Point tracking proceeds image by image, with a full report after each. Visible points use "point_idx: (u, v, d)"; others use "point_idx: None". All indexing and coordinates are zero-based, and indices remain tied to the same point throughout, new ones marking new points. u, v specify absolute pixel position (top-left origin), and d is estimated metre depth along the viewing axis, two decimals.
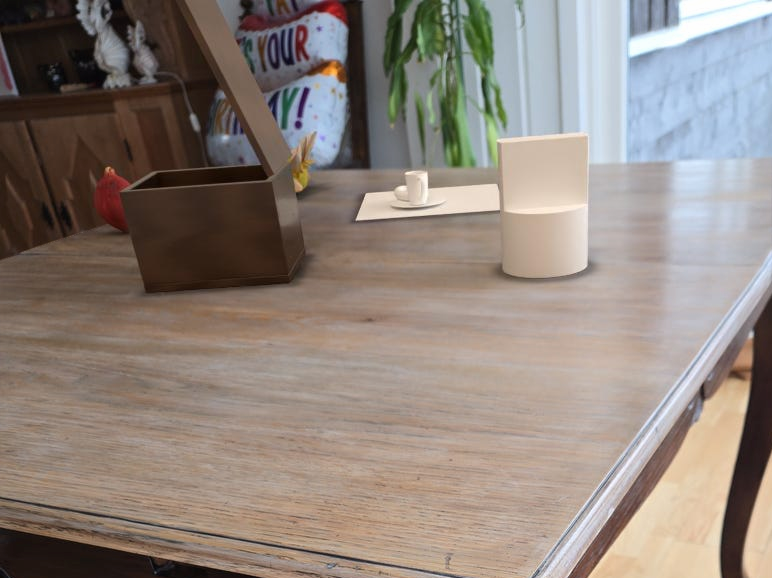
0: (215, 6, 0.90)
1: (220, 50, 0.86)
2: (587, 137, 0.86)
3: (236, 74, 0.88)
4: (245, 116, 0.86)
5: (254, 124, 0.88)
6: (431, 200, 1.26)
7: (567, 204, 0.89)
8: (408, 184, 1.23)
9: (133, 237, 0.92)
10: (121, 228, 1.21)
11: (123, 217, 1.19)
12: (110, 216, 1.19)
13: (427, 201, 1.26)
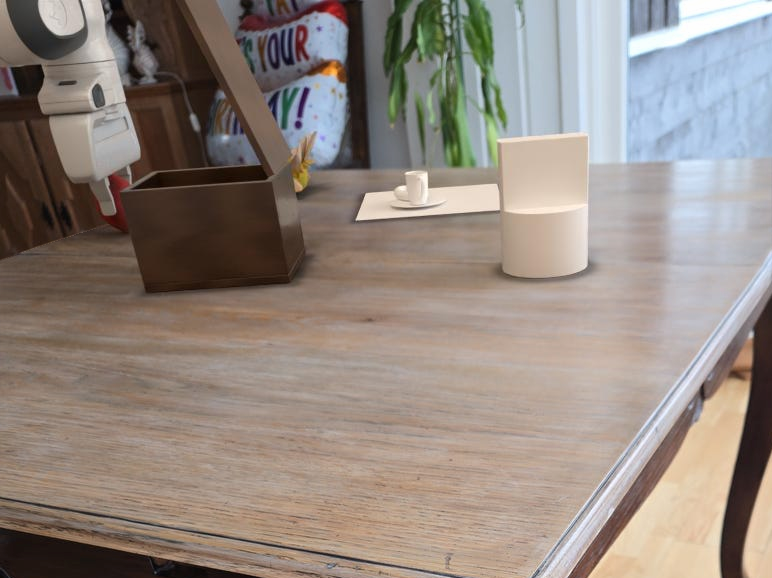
0: (215, 6, 0.90)
1: (220, 50, 0.86)
2: (587, 137, 0.86)
3: (236, 74, 0.88)
4: (245, 116, 0.86)
5: (254, 124, 0.88)
6: (431, 200, 1.26)
7: (567, 204, 0.89)
8: (408, 184, 1.23)
9: (133, 237, 0.92)
10: (121, 228, 1.21)
11: (123, 217, 1.19)
12: (110, 216, 1.19)
13: (427, 201, 1.26)
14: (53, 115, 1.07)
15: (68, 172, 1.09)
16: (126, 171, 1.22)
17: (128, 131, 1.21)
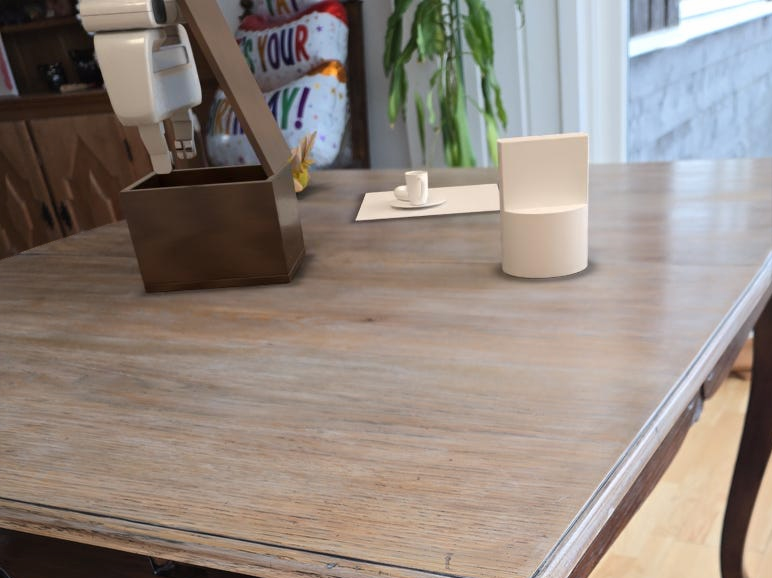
0: (215, 6, 0.90)
1: (220, 50, 0.86)
2: (587, 137, 0.86)
3: (236, 74, 0.88)
4: (245, 116, 0.86)
5: (254, 124, 0.88)
6: (431, 200, 1.26)
7: (567, 204, 0.89)
8: (408, 184, 1.23)
9: (133, 237, 0.92)
10: None
11: None
12: None
13: (427, 201, 1.26)
14: (99, 33, 0.81)
15: (118, 111, 0.82)
16: (188, 116, 0.96)
17: (188, 65, 0.94)
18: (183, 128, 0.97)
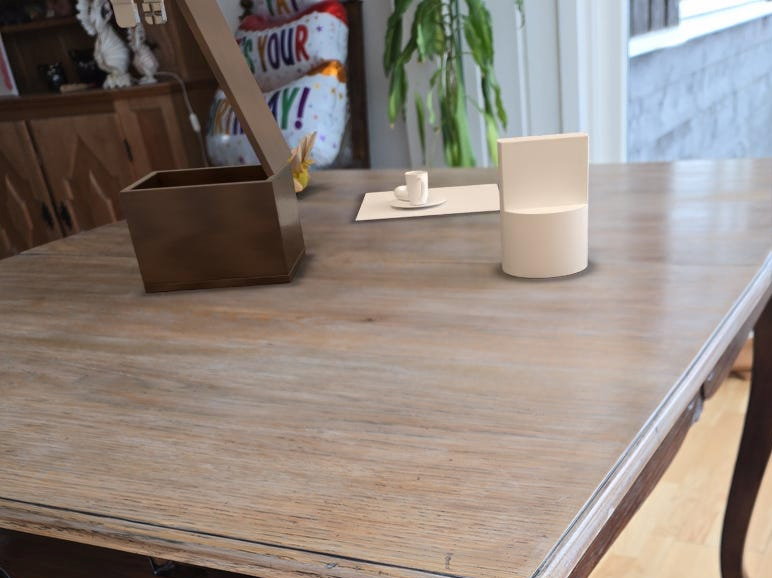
0: (215, 6, 0.90)
1: (220, 50, 0.86)
2: (587, 137, 0.86)
3: (236, 74, 0.88)
4: (245, 116, 0.86)
5: (254, 124, 0.88)
6: (431, 200, 1.26)
7: (567, 204, 0.89)
8: (408, 184, 1.23)
9: (133, 237, 0.92)
10: None
11: None
12: None
13: (427, 201, 1.26)
14: None
15: None
16: None
17: None
18: None
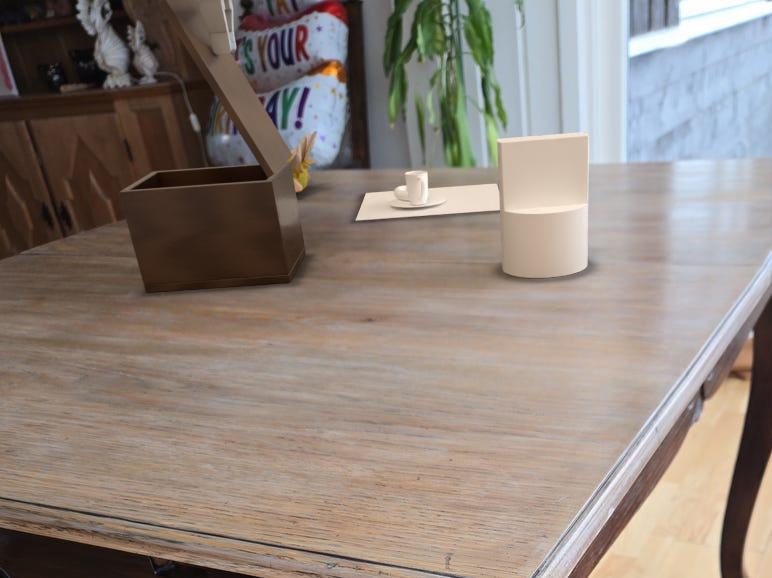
0: None
1: (210, 56, 0.86)
2: (587, 137, 0.86)
3: (229, 78, 0.89)
4: (240, 118, 0.86)
5: (250, 126, 0.88)
6: (431, 200, 1.26)
7: (567, 204, 0.89)
8: (408, 184, 1.23)
9: (133, 237, 0.92)
10: None
11: None
12: None
13: (427, 201, 1.26)
14: None
15: None
16: (228, 4, 0.87)
17: None
18: None
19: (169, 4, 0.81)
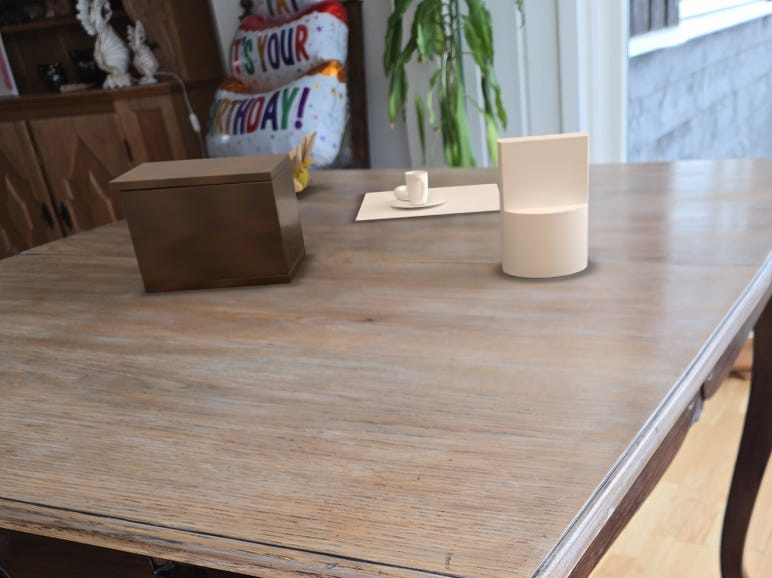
0: (153, 164, 0.98)
1: (169, 173, 0.92)
2: (587, 137, 0.86)
3: (194, 169, 0.93)
4: (216, 174, 0.89)
5: (230, 171, 0.91)
6: (431, 200, 1.26)
7: (567, 204, 0.89)
8: (408, 184, 1.23)
9: (133, 237, 0.92)
10: None
11: None
12: None
13: (427, 201, 1.26)
14: None
15: None
16: None
17: None
18: None
19: (114, 181, 0.89)
